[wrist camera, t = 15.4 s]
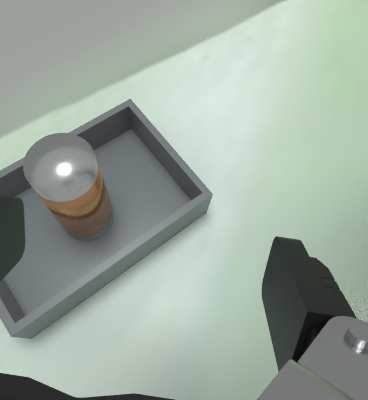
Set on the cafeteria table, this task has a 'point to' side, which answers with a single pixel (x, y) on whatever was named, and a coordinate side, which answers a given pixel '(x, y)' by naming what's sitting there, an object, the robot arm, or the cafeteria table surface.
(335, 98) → the cafeteria table surface
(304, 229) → the cafeteria table surface
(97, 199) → the tin can
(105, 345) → the cafeteria table surface
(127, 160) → the gray tray
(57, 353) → the cafeteria table surface
